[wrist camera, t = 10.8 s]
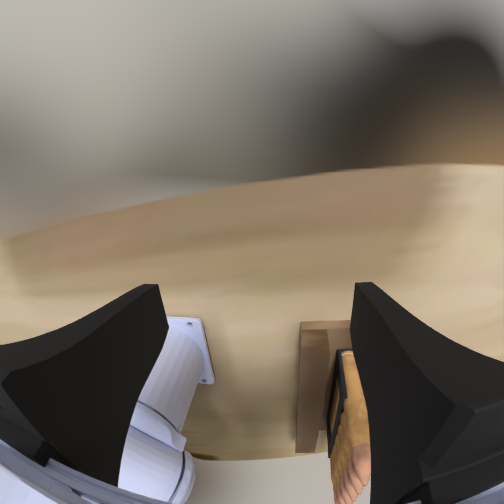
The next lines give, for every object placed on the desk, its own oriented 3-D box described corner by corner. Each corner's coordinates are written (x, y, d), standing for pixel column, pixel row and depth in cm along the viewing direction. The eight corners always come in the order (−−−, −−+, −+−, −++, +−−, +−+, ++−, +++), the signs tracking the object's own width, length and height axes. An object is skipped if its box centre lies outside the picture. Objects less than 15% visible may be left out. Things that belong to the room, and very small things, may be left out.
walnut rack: (296, 423, 29) (295, 452, 25) (300, 322, 23) (301, 356, 19) (365, 419, 28) (369, 447, 24) (395, 317, 22) (409, 349, 18)
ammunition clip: (336, 348, 23) (352, 482, 12) (358, 346, 22) (384, 478, 11) (326, 419, 27) (328, 520, 16) (343, 418, 27) (350, 518, 16)
